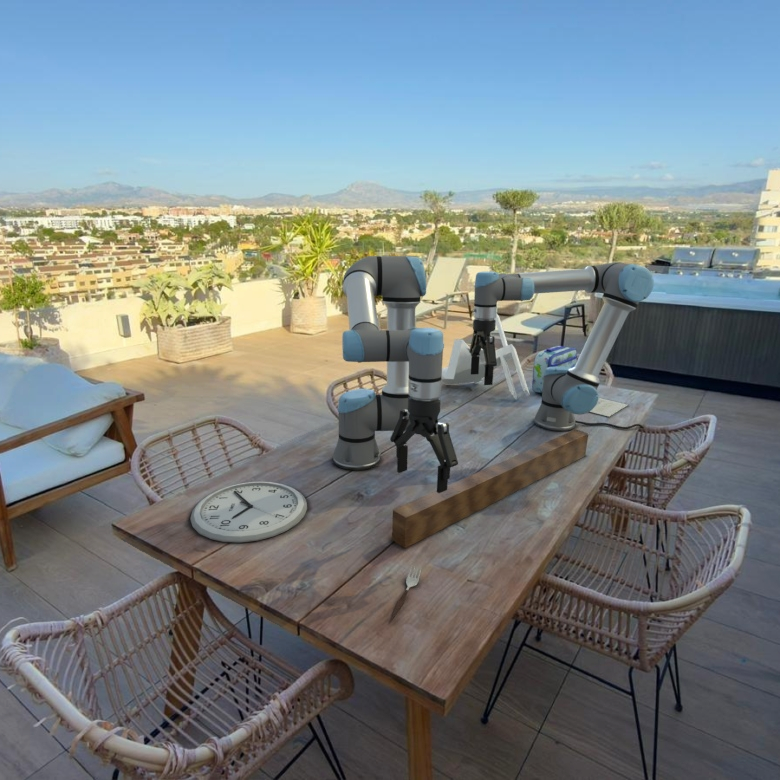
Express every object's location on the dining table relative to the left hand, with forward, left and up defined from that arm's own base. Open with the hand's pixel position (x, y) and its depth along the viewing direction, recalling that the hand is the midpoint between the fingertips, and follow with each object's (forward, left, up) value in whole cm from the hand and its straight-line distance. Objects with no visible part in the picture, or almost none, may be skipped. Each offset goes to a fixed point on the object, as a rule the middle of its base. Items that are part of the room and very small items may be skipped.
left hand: (421, 480), depth 126 cm
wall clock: (-27, -37, -15) cm, 48 cm away
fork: (+19, -13, -15) cm, 28 cm away
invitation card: (-59, +117, -15) cm, 132 cm away
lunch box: (-85, +112, -15) cm, 141 cm away
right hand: (-47, +47, +8) cm, 67 cm away
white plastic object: (-95, +78, -15) cm, 124 cm away
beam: (-11, +33, -15) cm, 38 cm away
